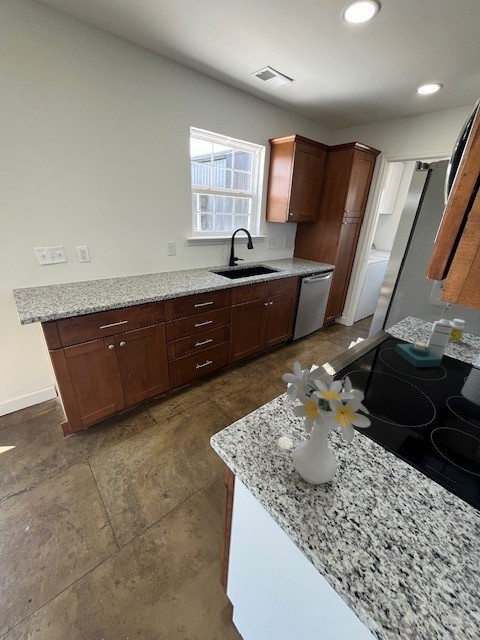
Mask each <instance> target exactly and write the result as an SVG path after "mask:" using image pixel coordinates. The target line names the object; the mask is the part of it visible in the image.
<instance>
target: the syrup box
mask: <svg viewBox="0 0 480 640" xmlns="http://www.w3.org/2000/svg"><path fill="white" fill-rule="evenodd" d="M452 329H453V320H450V319H445V318H441V320H440V321H434V322H433V324H432V328H431V329H430V332H429V333H430V334H429V337H428V339H427V341H426V347H428V348H429V350H430V351H431V352H432V353H434V354H435V355H437V356H438V357H439V358H441V359H443V356H444V353H445V351H446V348H447V345H448V343H449V337H450V335H451V332H452Z"/></svg>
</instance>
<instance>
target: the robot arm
mask: <svg viewBox="0 0 480 640" xmlns="http://www.w3.org/2000/svg"><path fill="white" fill-rule="evenodd" d="M443 285H444V281H436V280H435V281H434V284H433V287H432V289H431V293H430V297H429V299H428V305H429V306H430V307H432V316H431V320H432V321H434V322H435V321H440V320H441V319H443V315H444V313H449V311H450V310H451V306H452V304H453V302H452V303H448V302H444V301H441V300H439V296H440V293H441V290H442V288H443Z"/></svg>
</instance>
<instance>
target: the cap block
mask: <svg viewBox="0 0 480 640" xmlns="http://www.w3.org/2000/svg"><path fill="white" fill-rule="evenodd" d="M415 343H416V342H413V343H397V344H395V348H394V352H395V353H397V354H398V355H399V356H400V357H402V358H403V359H404V360H405V361H406V362H408V363H409V364H410V365H411V366H413V367H414V368H431V367H432V368H433V367H440V365H441V363H442V360H443V358H439V357H438V356H437V355H435V354H434V353H432V352H431V351H430V350H429V348H428V347H426V348H425V350H419V349H416V348H415V347H414V345H415Z"/></svg>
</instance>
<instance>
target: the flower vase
mask: <svg viewBox="0 0 480 640" xmlns="http://www.w3.org/2000/svg"><path fill="white" fill-rule="evenodd" d="M292 370H293V373H289V372H288V373H283V374H282V376H281V379H282V381H283V382H285V383H288V384H290V385H289V386H288V387H287V389H286V395H287V397H286V401H290V400H291V401H290V402H291V403H293V402H295V401H296V400H297V399H298V400H299V402H300V403H301V404H300V405H296V406H294V407H293V409H292V414H293V415H294V416H296V417H298V418H303V417H305V418H304V422H303V423H304V430H305V432H306V434H310V433H311V434H310V437H309V439H307V440H303V441H302V442H300V443H298V444H297V446H296V447H295V448H294V451H293V452H292V462H293V467H294V468H295V470H296V472H297V473H298V474H299V476H300V477H301V478H302V479H303V480H304V481H305V482H307V483H308V484H310V485H323V484H326V483H329V482H330V481H332V480H333V479H334V478H335V476H336V474H337V470H338V464H337V458H336V457H335V454H334V453H333V451H332V450H331V448H329V446H328V439H329V433H330V430H335V429H338V428H339V427H340V431H341V434H342V437H343V439H344V440H345V441H346V442H347V443H351V442H352V441H353V440H354V439H355V438H354V437H355V429H354V426H355V427H358V428H368V427H370V426H371V421H370V419H369V418H368V417H367V416H365V415H362V414H360V413H357V411H359V410H360V411H362V412H363V413H365V414H367V415H370V412H369V410H368V409H367V408H366V407H365V406H364V405H363V404H362V402H363V400H364V399H365V395H364V394H363V392H362V391H360V390H357V389H354V390H352V389H353V388H352V387H353V386H352V385H353V384H352V382H351V380H350V377H349V376H347V375H345V380H344V379H342V380H341V379H340V380H334V378H335V377H334V375H333V374H327V375H325V376H324V377H323V378H322V381H321V380H319V379H312V378H309V379H308V377H309V374H310V369H309V368H305V369H304V370H302V367H301V364H300V362H299V361H295V362H293V369H292ZM342 384H343V391H341V390H342ZM309 390H313V391H314V392H312V393H311V392H309ZM307 395H308V396H309V397H308V396H307ZM343 403H346V404H345V405H344V404H343Z"/></svg>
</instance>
